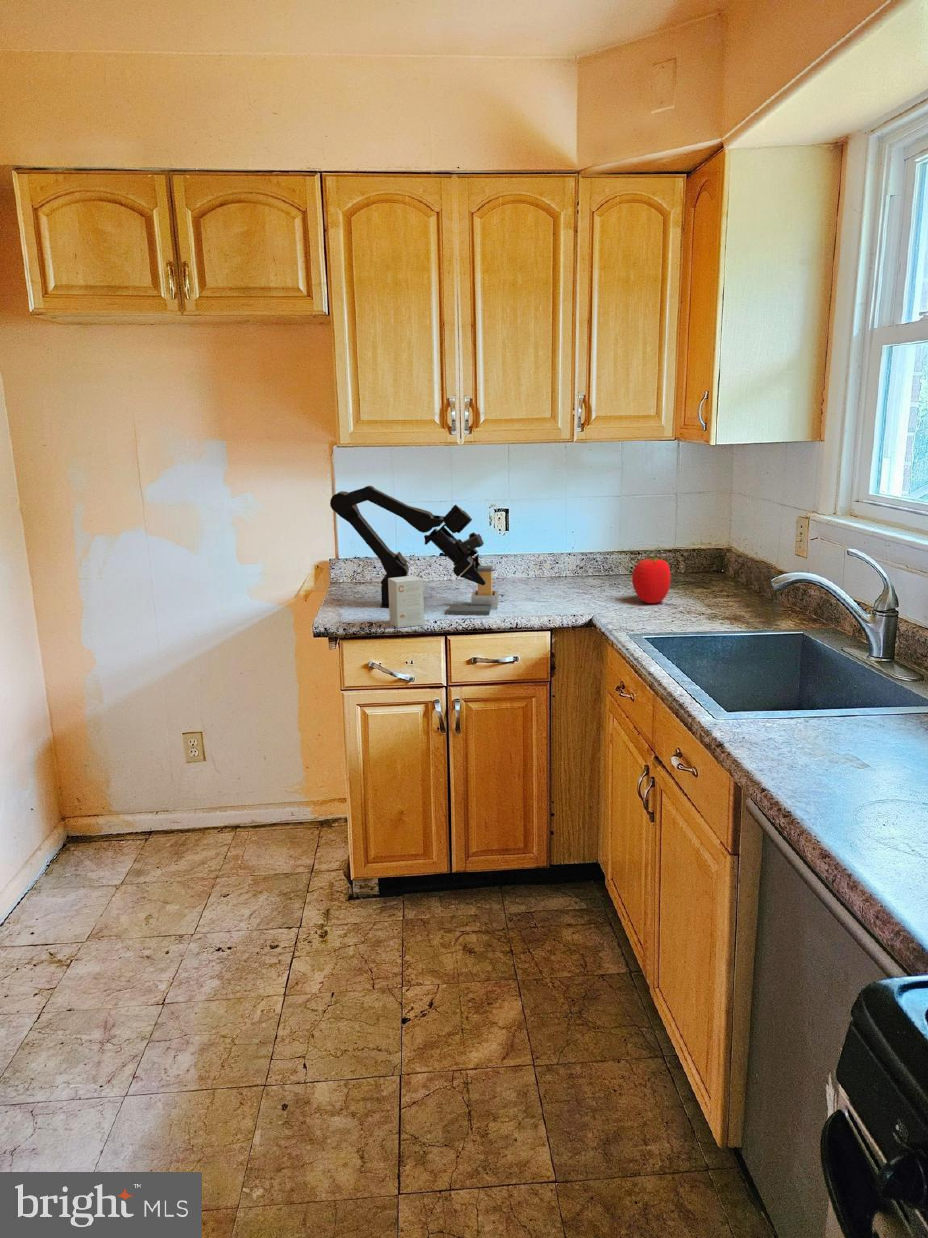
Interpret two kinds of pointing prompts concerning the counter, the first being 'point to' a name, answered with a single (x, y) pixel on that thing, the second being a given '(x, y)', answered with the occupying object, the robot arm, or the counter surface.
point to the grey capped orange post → (487, 577)
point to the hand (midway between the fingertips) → (485, 581)
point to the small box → (406, 601)
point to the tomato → (651, 580)
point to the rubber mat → (469, 610)
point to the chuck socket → (485, 599)
